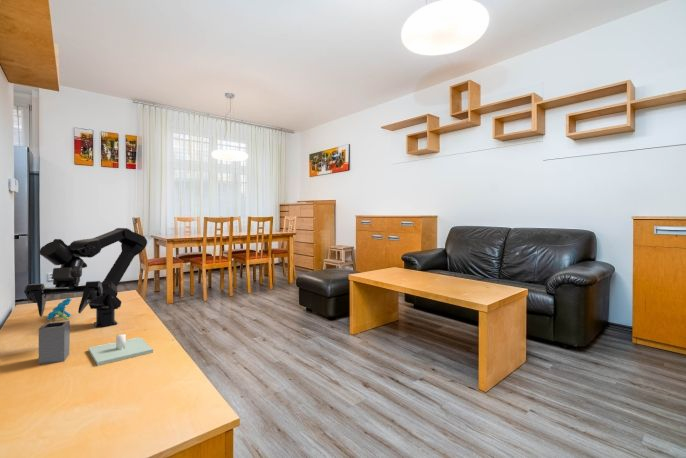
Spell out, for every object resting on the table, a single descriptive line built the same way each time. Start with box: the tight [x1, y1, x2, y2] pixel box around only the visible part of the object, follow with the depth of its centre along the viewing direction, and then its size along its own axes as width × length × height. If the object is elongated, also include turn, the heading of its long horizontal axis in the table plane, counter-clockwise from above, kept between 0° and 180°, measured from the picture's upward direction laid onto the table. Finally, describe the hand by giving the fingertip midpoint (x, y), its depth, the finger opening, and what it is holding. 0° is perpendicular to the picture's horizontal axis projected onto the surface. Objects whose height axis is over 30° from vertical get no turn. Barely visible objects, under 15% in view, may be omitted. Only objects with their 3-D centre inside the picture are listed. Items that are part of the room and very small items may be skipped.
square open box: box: [38, 320, 71, 365], centre depth 96 cm, size 6×6×10 cm
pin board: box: [88, 333, 154, 367], centre depth 102 cm, size 14×14×5 cm
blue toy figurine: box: [45, 297, 72, 321], centre depth 133 cm, size 11×6×10 cm
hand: (60, 314), depth 101 cm, fingers open, 9 cm apart
